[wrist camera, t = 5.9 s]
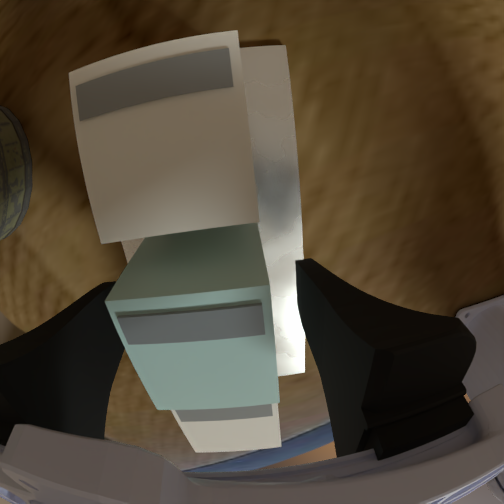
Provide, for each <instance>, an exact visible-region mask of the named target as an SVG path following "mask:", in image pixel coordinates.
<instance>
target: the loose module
mask: <svg viewBox="0 0 504 504" xmlns="http://www.w3.org/2000/svg"><path fill="white" fill-rule="evenodd" d="M105 304H106V306H107V309H108V311H109V313H110V316H111V318H112V320H113V323H114V325H115V327H116V330H117V332H118V334H119V336H120V339H121V341H122V343H123V345H124V347H125V349H126V351H127V353H128V355H129V358H130V360H131V362H132V364H133V366H134V368H135V370H136V371H137V373H138V375H139V377H140V379H141V381H142V383H143V385H144V387H145V388H146V390H147V392H148V394H149V396H150V398H151V399H152V401H153V403H154V405H155V406H156V408H157V410H197V409H219V408H234V407H246V406H256V405H265V404H274V403H280V399H279V385H278V373H277V360H276V348H275V336H274V324H273V312H272V301H271V290H270V282H269V277H268V272H267V267H266V262H265V257H264V252H263V248H262V243H261V238H260V233H259V228H258V223H248V224H240V225H232V226H224V227H217V228H209V229H201V230H194V231H187V232H179V233H172V234H165V235H158V236H151V237H145V239H144V240H143V242H142V243H141V244H140V246H139V247H138V249H137V250H136V252H135V254H134V255H133V257H132V258H131V260H130V261H129V263H128V264H127V266H126V267H125V269H124V270H123V272H122V274H121V275H120V277H119V278H118V280H117V282H116V283H115V285H114V286H113V288H112V290H111V291H110V293H109V295H108V296H107V298H106V300H105Z"/></svg>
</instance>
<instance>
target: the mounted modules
mask: <svg viewBox="0 0 504 504" xmlns="http://www.w3.org/2000/svg"><path fill="white" fill-rule="evenodd" d="M69 83H70V93H71V102H72V110H73V118H74V125H75V131H76V138H77V144H78V149H79V155H80V160H81V165H82V170H83V174H84V179H85V184H86V188H87V192H88V196H89V200H90V204H91V208H92V212H93V216H94V220H95V223H96V227H97V230H98V234H99V237H100V241H101V244H105V243H112V242H118V241H125V240H131V239H138V238H145V237H151V236H158V235H165V234H172V233H179V232H187V231H194V230H201V229H209V228H217V227H224V226H232V225H240V224H248V223H257V222H260V221H259V211H258V202H257V193H256V184H255V175H254V166H253V157H252V148H251V140H250V131H249V122H248V114H247V105H246V97H245V88H244V80H243V72H242V64H241V56H240V47H239V40H238V32H237V30H235V31H226V32H218V33H211V34H204V35H198V36H192V37H187V38H181V39H177V40H172V41H167V42H163V43H158V44H154V45H150V46H146V47H143V48H139V49H135V50H132V51H128V52H125V53H122V54H119V55H115V56H112V57H109V58H106V59H103V60H101V61H98V62H95V63H92V64H90V65H87V66H84V67H82V68H79V69H77V70H74V71H72V72H69ZM171 411H172V413H173V415H174V416H175V418H176V420H177V422H178V424H179V425H180V427H181V429H182V431H183V432H184V434H185V436H186V437H187V439H188V441H189V442H190V444H191V446H192V447H193V449H194V450H195V452H228V451H244V450H256V449H266V448H275V447H281V437H280V425H279V414H278V403H274V404H265V405H256V406H246V407H234V408H219V409H197V410H171Z"/></svg>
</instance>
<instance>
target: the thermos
mask: <svg viewBox="0 0 504 504" xmlns="http://www.w3.org/2000/svg"><path fill="white" fill-rule="evenodd" d="M31 190H32V160H31V155H30V150H29V145H28V140H27V137H26V135H25V133H24V131H23V129H22V126H21V124H20V122H19V120H18V119H17V118H16V117H15V116H14V115H13V114H12V112H11V111H10V110H9V109H8V108H5V107H3V106H0V240H1V239H4V238H6V237H8V236H9V235H10V234H11V233H12V232H13V231H14V230H15V229H16V228H17V227H18V226H19V225H20V224H21V222H22V220H23V218H24V216H25V214H26V211H27V209H28V207H29V201H30V195H31Z"/></svg>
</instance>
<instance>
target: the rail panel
mask: <svg viewBox="0 0 504 504" xmlns="http://www.w3.org/2000/svg"><path fill="white" fill-rule="evenodd" d="M240 56H241V64H242V72H243V80H244V88H245V97H246V105H247V114H248V122H249V131H250V140H251V148H252V157H253V166H254V175H255V184H256V193H257V202H258V211H259V221H260V222H257V223H258V228H259V233H260V238H261V243H262V248H263V252H264V257H265V262H266V267H267V272H268V277H269V282H270V290H271V301H272V312H273V324H274V336H275V348H276V360H277V373H278V376H284V375H291V374H297V373H304V372H305V333H304V330H303V327H302V324H301V320H300V315H299V311H298V306H297V289H296V266H295V260H302V259H303V238H302V218H301V200H300V184H299V170H298V157H297V145H296V134H295V123H294V113H293V103H292V93H291V85H290V76H289V68H288V60H287V52H286V45H274V46H257V47H245V48H240ZM144 239H145V238H138V239H131V240H125V241H121V242H122V246H123V249H124V253H125V256H126V259H127V263H129V261H130V260H131V258H132V257H133V255H134V254H135V252H136V250H137V249H138V247H139V246H140V244H141V243H142V242H143V240H144Z"/></svg>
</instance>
